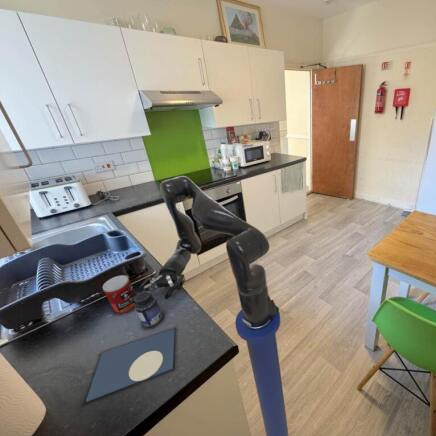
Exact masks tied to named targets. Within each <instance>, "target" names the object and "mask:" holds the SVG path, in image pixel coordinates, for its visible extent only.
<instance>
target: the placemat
mask: <svg viewBox="0 0 436 436" xmlns="http://www.w3.org/2000/svg"><path fill="white" fill-rule="evenodd" d="M175 337H176V329H175V328H171V329H169V330H165V331H163V332H158V333H157V334H154V335H150V336H148V337H145V338H142V339H139V340H135V341H132V342H130V343H127V344H124V345H123V344H122V345H121V346H117V347H114V348H112V349H109V350H105V351H103V352H101V355H100V358H99V361H98V363H97V367H96V370H95V372H94V375H93V378H92V381H91V384H90V387H89V390H88V393H87V396H86V399H85V402H86V403H89V402H91V401H93V400H97V399H98V398H101V397H104V396H106V395H109V394H112V393H115V392H118V391H119V390H122V389H125V388H127V387H130V386H132V385H135V384H138V383H140V382H143V381H145V380H148V379H151V378H154V377H156V376H158V375H161V374H163V373H166V372H168V371H171V370H173V369H174V360H175V341H176V340H175V339H176V338H175Z"/></svg>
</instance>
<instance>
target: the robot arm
mask: <svg viewBox="0 0 436 436" xmlns="http://www.w3.org/2000/svg"><path fill="white" fill-rule="evenodd" d="M159 190H160V194H161V197H162V199H163V201H164V203H165V205H166V208H167V210H168V213H169V215H170V217H171V219H172V221H173V223H174V226H175V229H176V235H177V237H178V238H179V239H178V240H177V243H176V247H175V249H174V252H173V254H172V255H171V256H170V257H169V258H168V259H167V261H165V263H164V264H163V266H161V268H160V269H159V271H158V274H157V275H156V276H155V277H152V276H151V275H149V276H147V277H146V279H145V280H144V281H143V282H142V283H141V284H140V285H139V289H140V290H141V292H144V291H149V292H150V293H151V292H153V291H156V290H157V289H161V288H166V291H165V292H164V293H163V296H164V299H165V300H168V299H169V298H171V297H172V295H173V293H174V292H176V291H180V290H182V287H183V286H184V284H185V281H186V277H185V275H184V273H183V272H184V271H185V269H186V267H187V265H188V263H189V262H190V261H191V258H192V255H197V254H199V253H200V252H201V251H202V245H203V244H202V242H201V239H200V237H199V236H198V234H197V233H196V231H195V230H196V229H195V226H194V225H195V224H194V222H193V220H195V221H196V222H197V223H198V224H199V225H200V226H202V228H203V229H205V230H207V231H210V232H214V233H219V234H224V235H228V236H229V235H230V236H231V237H229V238H228V239H227V240H226V243H225V246H226V248H225V249H226V254H227V258H228V260H229V264H230V268H231V271H232V272H231V273H232V274H233V277H234V279H235V283H236V284H235V285H236V288H237V293H238V298H239V302H240V303H239V304H240V307H241V310H242V313H243V318H244V319H243V318H242V319H243V322H244V324H245V325H246V327H248V328H249V329H252V330H259V329H262V328H264V327H266V326H267V325H268V324H269V323H270V321H272V320H273V315H277V313H278V311H279V312H280V308H279V307H278V306H277V305H276V303H275V301H274V299H271V296H270V295H269V289H268V280H267V273H266V270H265V267H264V266H262V265H261V264H259V263H256V261H258V260H259V259H261V258H263V257H264V256H265V255H266V254H268V252H269V250H270V242H269V240H268V238H267V237H266V235H265V234H264V233H263V232H262V231H261V230H259V228H258V227H256V226H254V225H252V224H250V223H249V222H247V221H245V220H243V219H242V218H240V217H238V216H236V215H235V214H233V213H232V212H231V211H229V210H228V209H226V208H225V207H224V206H223V205H222V204H220V203H219V202H218V201H216V200H215V199H214V198H212V197H210V196H209V195H208V194H207V193H206V192H204V191H203V190H202V189H201V188H200V187H199V186H197V184H195V183H194V182H193V181H192V180H191V179H190V178H189V177H187V176H185V175H180V176H175V177H173V178H169V179H165V180H163V181H161V183H160V184H159ZM187 200H192V202H191V215H192V218H193V219H192V218H191V217H190V216H189V215H188V214H186V213H185V212H183V211H182V210H180V209H179V208H178V206H177V205H178V204H180V203H182V202H185V201H187Z"/></svg>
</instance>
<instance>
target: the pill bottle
mask: <svg viewBox="0 0 436 436" xmlns="http://www.w3.org/2000/svg"><path fill="white" fill-rule="evenodd" d="M134 301H135V303H136V305H135V307H134V309H135V311H136V314H137V315H138V317H139V319H140V322H141V323H142V325H143V326H144V327H145V328H152V327H154V326H156V325H158V324H159V323H161V321H162V320H163V318H164V314H163V311H162V309H161V307H160V304H159V302H158V300H157V298H156V297H155V296H154V295H152V293H151V291H150V292H149V291H144V292H142V291H141V292H140V293H138V294H136V297H135V298H134Z"/></svg>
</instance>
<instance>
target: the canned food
mask: <svg viewBox="0 0 436 436" xmlns="http://www.w3.org/2000/svg"><path fill="white" fill-rule="evenodd" d="M102 290H103V293H104V294H105V296H106V298H107V300H108V302H109V303H110V306H111V307H112V309H113V311H114V312H116V313H117V314H125V313H129V312H130V311H132V310H133V309H135V305H136V303H135V301H134V298H135V297H136V296H137V294H136V292H135V290H134V287H133V285H132V283H131V280H130V278H129V277H128V276H127V275H124V274H123V275H117V276H114V277H112V278H109V279H108V280H107V281H105V282H104V283H103V285H102Z"/></svg>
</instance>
